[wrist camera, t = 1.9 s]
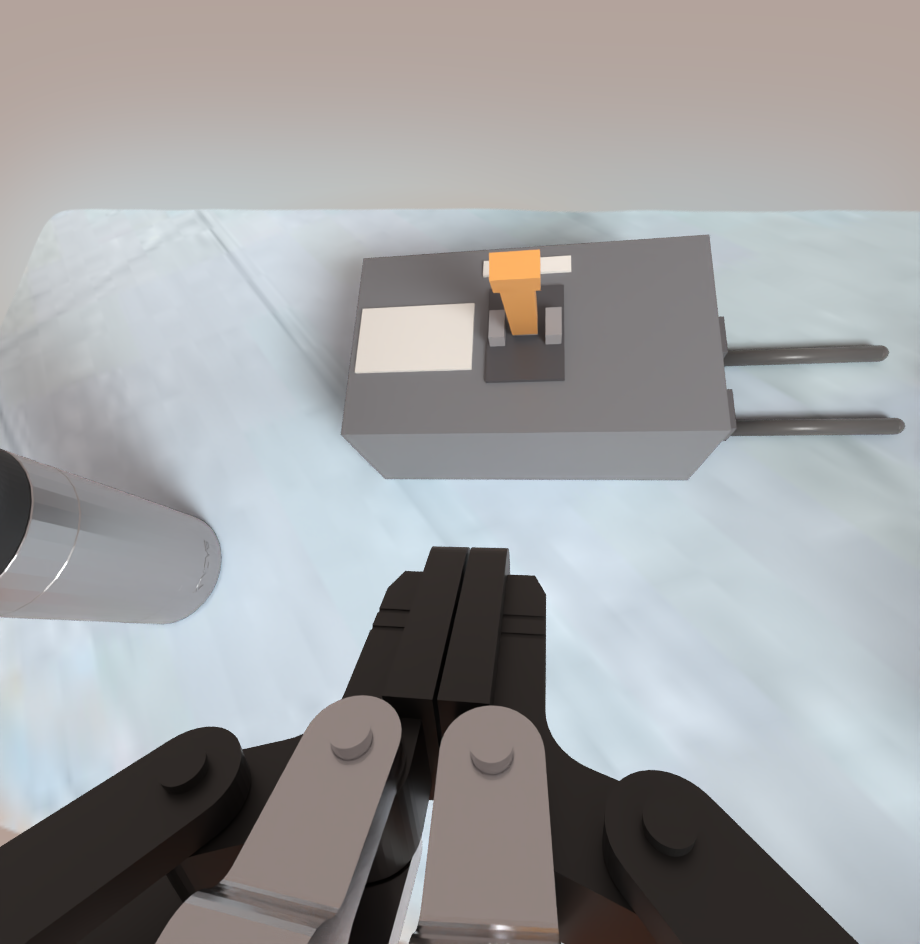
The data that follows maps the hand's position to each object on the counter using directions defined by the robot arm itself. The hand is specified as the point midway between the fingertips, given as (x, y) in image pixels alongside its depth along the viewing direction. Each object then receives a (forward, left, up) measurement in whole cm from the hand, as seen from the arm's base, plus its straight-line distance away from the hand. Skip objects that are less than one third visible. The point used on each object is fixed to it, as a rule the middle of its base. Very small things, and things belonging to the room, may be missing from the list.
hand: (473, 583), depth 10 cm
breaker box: (+7, +18, -30) cm, 36 cm away
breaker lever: (0, +18, -19) cm, 26 cm away
